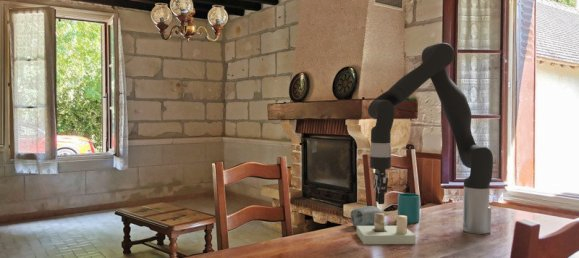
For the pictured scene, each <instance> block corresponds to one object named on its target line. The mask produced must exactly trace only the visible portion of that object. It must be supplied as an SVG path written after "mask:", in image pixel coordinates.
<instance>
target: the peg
mask: <svg viewBox="0 0 579 258" xmlns="http://www.w3.org/2000/svg"><path fill="white" fill-rule="evenodd" d="M385 217H386V216H385V213H382V212H381V213H375V215H374V232H384V226H385Z"/></svg>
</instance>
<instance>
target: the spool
mask: <svg viewBox="0 0 579 258" xmlns="http://www.w3.org/2000/svg"><path fill="white" fill-rule="evenodd" d="M375 213H382V211H381V209H380V208H379V207H377V206H373V205H370V206H369V205H368V206H367V205H366V206H361V207H357V208H353V209H352V210H351V211H350V220H351V223H352V225H353V227H354V228H356V229H357V226H374V215H375Z"/></svg>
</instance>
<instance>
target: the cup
mask: <svg viewBox="0 0 579 258" xmlns="http://www.w3.org/2000/svg"><path fill="white" fill-rule="evenodd" d="M420 209H421V195H420V194H417V193H413V192H412V193H410V192H403V193H402V192H401V193H398V194H397V216H398V215H403V216H407V224H417V223H419V222H420V220H421V219H420V216H421V215H420V213H421V212H420V211H421V210H420Z"/></svg>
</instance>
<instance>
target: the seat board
mask: <svg viewBox="0 0 579 258" xmlns="http://www.w3.org/2000/svg"><path fill="white" fill-rule="evenodd" d="M356 235H357V237H358V238H359V239H360V240H361V242H362V243H363V245H416V235H415V233H413V232H412V231H411V230H410V229H408V223H407V216H403V215H398V214H397V215H396V225H384V232H374V226H357V228H356Z"/></svg>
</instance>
